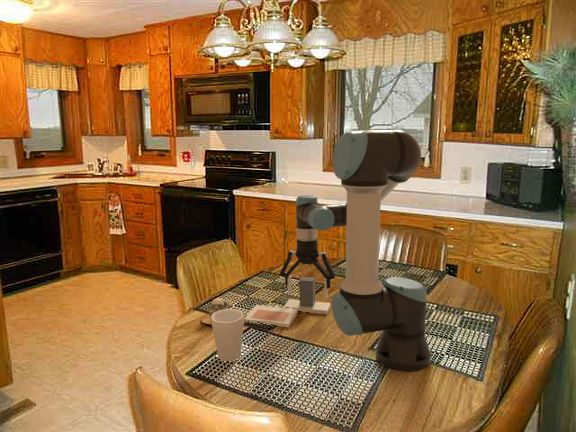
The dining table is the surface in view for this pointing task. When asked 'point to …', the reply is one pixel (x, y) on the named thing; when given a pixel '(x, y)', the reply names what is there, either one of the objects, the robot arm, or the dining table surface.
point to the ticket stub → (308, 298)
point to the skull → (218, 306)
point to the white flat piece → (272, 315)
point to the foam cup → (228, 333)
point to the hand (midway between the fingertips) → (307, 295)
